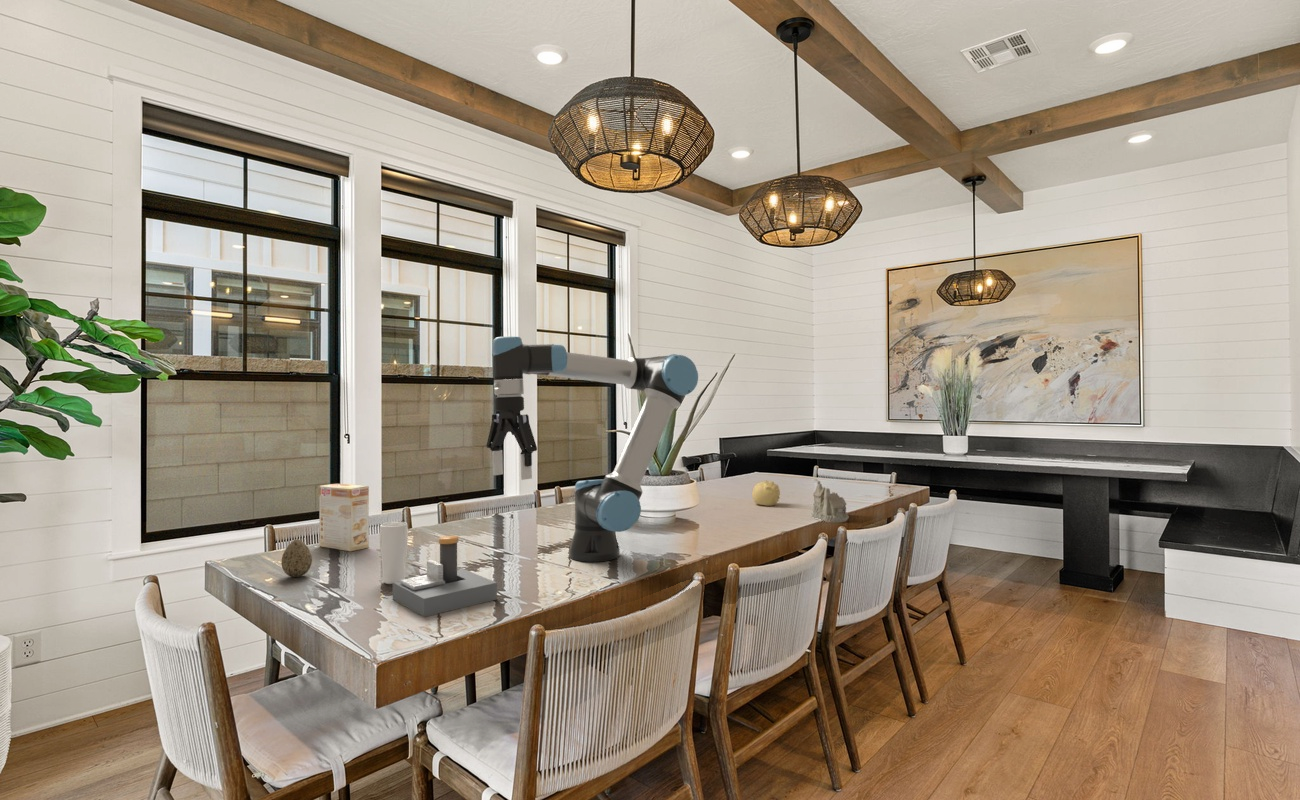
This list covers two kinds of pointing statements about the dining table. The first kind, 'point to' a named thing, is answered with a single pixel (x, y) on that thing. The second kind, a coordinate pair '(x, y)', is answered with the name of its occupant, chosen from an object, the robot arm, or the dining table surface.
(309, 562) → the decorative egg
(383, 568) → the drinking glass
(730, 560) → the dining table surface
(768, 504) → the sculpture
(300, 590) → the dining table surface
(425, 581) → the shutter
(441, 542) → the plug
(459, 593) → the socket block
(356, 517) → the coffeecake box
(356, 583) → the dining table surface
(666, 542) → the dining table surface
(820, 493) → the ceramic cottage
